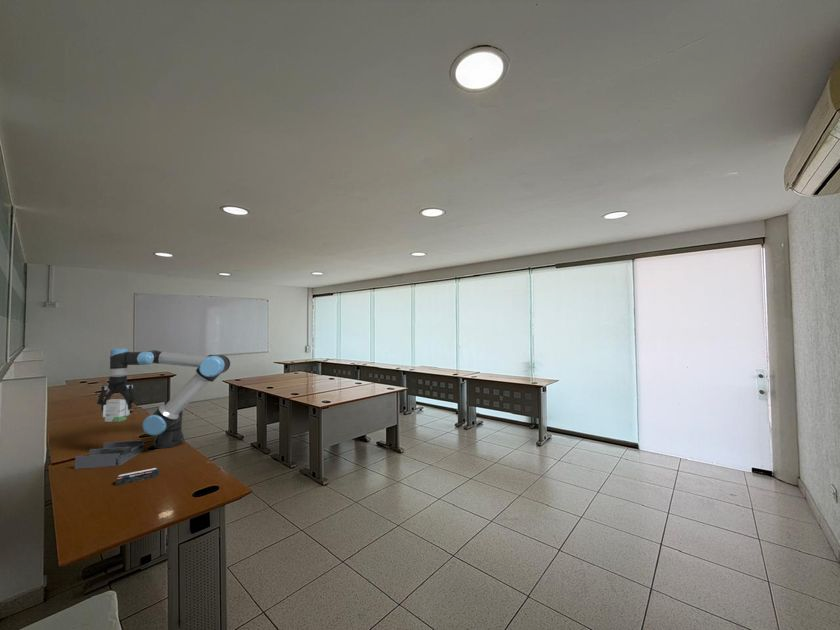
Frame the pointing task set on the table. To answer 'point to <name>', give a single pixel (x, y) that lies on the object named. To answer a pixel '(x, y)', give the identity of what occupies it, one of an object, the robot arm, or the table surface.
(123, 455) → the rack
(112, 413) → the ink box
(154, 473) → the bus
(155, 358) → the robot arm
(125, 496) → the table surface
